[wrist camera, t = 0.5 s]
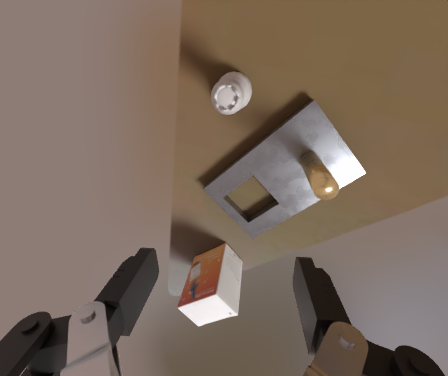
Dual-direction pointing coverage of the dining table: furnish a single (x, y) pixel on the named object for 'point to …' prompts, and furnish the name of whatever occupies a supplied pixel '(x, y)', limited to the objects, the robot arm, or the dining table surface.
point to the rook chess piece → (231, 93)
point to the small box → (212, 286)
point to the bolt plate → (289, 169)
